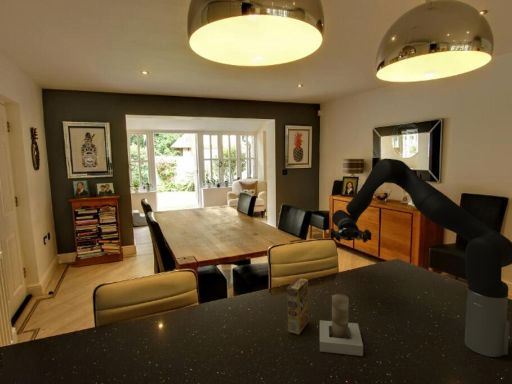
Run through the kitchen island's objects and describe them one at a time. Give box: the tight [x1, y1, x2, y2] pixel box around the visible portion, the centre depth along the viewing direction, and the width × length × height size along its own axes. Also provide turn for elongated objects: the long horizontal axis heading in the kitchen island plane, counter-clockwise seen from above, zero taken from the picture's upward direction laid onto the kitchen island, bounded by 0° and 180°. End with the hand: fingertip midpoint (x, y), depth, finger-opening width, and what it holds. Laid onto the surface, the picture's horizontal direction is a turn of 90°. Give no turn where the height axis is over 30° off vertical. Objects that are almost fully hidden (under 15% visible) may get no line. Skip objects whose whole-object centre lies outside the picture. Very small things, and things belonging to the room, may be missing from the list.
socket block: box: [319, 319, 364, 357], centre depth 93 cm, size 12×12×3 cm
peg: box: [331, 293, 350, 339], centre depth 93 cm, size 5×5×14 cm
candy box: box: [286, 277, 309, 335], centre depth 101 cm, size 9×4×15 cm, turn 150°
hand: (352, 239), depth 105 cm, fingers open, 8 cm apart
